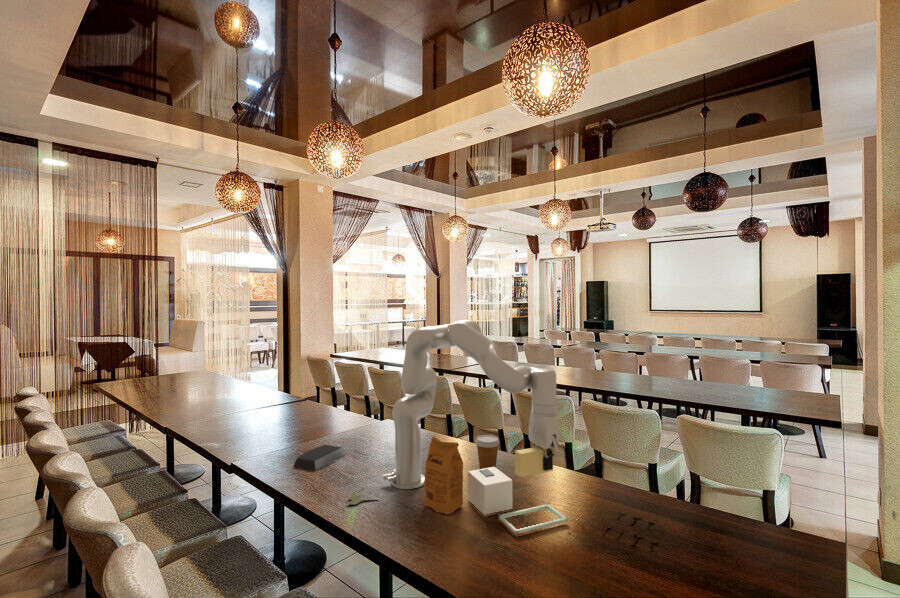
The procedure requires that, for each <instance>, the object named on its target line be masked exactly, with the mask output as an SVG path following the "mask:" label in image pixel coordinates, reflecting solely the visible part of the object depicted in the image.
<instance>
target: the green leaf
mask: <svg viewBox="0 0 900 598" xmlns="http://www.w3.org/2000/svg"><path fill="white" fill-rule="evenodd" d="M361 496H362V495H361ZM361 496H360V495H358V496H357V495H356V494H355V492H354V493H353V494H351V496H349V497H348V498H347V499H348V500H350V501H349V502H347V503H346V504H347V505H357V504H359V503H361V502H363V500H362V499H360V498H361ZM362 497H363V496H362Z"/></svg>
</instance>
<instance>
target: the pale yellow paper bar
mask: <svg viewBox="0 0 900 598" xmlns="http://www.w3.org/2000/svg"><path fill="white" fill-rule="evenodd" d="M549 451H550V449H548V452H549ZM543 457H545V456H544V449H543V448H541V447H530V448H523V449H517V450H516V449H515V450H514V474H515V475H516V476H517V477H519V478H523V477H527V476H528V477H529V476H534V475H538V474H543V473H549V472H553V471H554V468H553V469H551V470H546V471H545V470H543Z"/></svg>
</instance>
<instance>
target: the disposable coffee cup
mask: <svg viewBox="0 0 900 598" xmlns="http://www.w3.org/2000/svg"><path fill="white" fill-rule="evenodd" d="M475 444H476V448H477V457H478V465H479V469H480V468H481V469H484V468H489V467H495V468H497V459H498V458H497V457H498V452H499V451H498V449H499V444H500V440H499V437H498V436H496V435H491V434H484V435H478V436H477V437H476V440H475Z"/></svg>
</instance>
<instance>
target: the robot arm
mask: <svg viewBox="0 0 900 598" xmlns="http://www.w3.org/2000/svg"><path fill="white" fill-rule="evenodd" d="M405 343H406V344H405V351H404V360H403V366H402V370H401V371H402V372H401V378H400V388H401V390H402V392H403V393H404V394H406V395H407V396H403V397H401V398H399V399H398V400H396V402H395V403H394V405H393V407H392V412H391V413H392V418H393V419H392V420H393V423H394V424H393V425H394V441H395V442H394V443H395V444H394V445H395V451H394V455H395V460H394V461H395V466H394V467H395V469H394V468H393V470H392V472H390V473H385V474H382V480H383V481H386V480H387V482H391V483H390V484H391V485H392V486H393V488H396V489H399V490H413V489H414V488H415V489H418V488H420V487H423V486H424V480H425V475H424V474H422V431H421V428H420V425H419V420H420V419H423V418H426V417H427V416H428V415H430V413H431V411H432V410H433V407H434V403H435V397H436V390H437V386H438V385H437V384H438V377H437V373H436V371H435V370H434V369H433V368H432V367H431V366H429V365H428V362H429V361H428V359H429V357H428V351H434V350H440V349H444V348H450V347H451V348H452V347H455V346H456V347H457V348H459V349H460V350H461V351H463V352H464V353H465V354H466V355H468V357H470V358H471V359H473V360H475V362H476V363H478V364H479V366H480V368H481V370H482V372H483V373H484V374H485V375H486V376H487V378H488V379H490V380H491V381H492V382H493V383H494V384H496V385H497V386H499V388H501V389H502V390H504V391H505V392H507V393H510V394H520V393H522V392H524V391H526V390H530V389H531V411H530V414H529V415H530V416H529V421H528V422H529V423H528V440H529V441H530V442H531V443H532V444H533V446H534V447H541V448H543V449H544V456H545V457H543V470H545V471H546V470H551V469H553V470H554V457H555V455H556V454H559V453H560V450H559V444H560V443H559V441H560V432H559V422H558V416H557V373H556V371H555V370H554V369H553V368H552V369H551V368H542V367H540V368H537V367H533V366H528V365H519V366H516V367H512V366H511V365H509V364H507V362H505V361H504V360H503V359H502V358H501V357H500V356H499V354H498V353H497V350H496V344H495V343H494V341H493V340H491V339H489V338H488V337H487V336H485V335H484V334H482V329H481V326H480V325H479V324H478V322H476V321H474V320H472V319H464V320H457V321H455V322H453V323H448V324H447V323H446V324H439V325H430V326H423V327H420V328H416V329H415V330H413V331H412V332H411V333H410V334H409V335H408V336H407V338H406V342H405ZM534 447H533V448H534ZM548 449H550V451H549V452H548Z"/></svg>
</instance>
